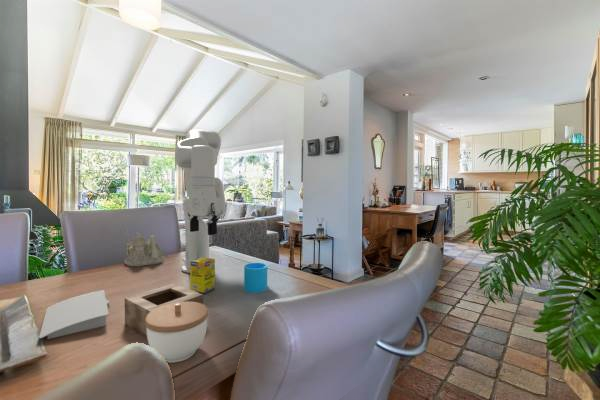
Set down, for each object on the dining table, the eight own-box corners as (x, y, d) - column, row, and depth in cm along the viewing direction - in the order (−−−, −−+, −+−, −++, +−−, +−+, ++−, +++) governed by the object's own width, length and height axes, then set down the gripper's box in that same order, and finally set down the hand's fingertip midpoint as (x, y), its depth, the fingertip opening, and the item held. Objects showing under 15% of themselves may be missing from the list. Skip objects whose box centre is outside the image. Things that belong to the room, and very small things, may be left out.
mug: (270, 290, 103) (270, 267, 102) (246, 294, 100) (247, 270, 99) (261, 280, 114) (261, 259, 113) (239, 282, 111) (240, 261, 110)
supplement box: (204, 295, 98) (204, 262, 97) (189, 292, 100) (189, 260, 99) (215, 289, 103) (215, 258, 103) (201, 286, 106) (201, 256, 105)
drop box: (125, 323, 77) (124, 297, 77) (174, 306, 89) (174, 283, 88) (152, 341, 69) (152, 312, 69) (203, 319, 81) (203, 294, 80)
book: (110, 299, 94) (110, 287, 94) (117, 328, 76) (117, 314, 76) (47, 311, 85) (47, 298, 85) (38, 348, 67) (37, 331, 67)
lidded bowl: (174, 334, 73) (173, 290, 72) (219, 342, 69) (218, 297, 68) (131, 364, 61) (130, 312, 60) (183, 376, 57) (182, 321, 56)
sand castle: (165, 262, 135) (163, 230, 135) (124, 268, 127) (121, 234, 127) (162, 257, 149) (160, 227, 148) (124, 262, 140) (122, 231, 140)
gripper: (178, 182, 101) (178, 231, 102) (210, 183, 91) (210, 237, 92) (196, 182, 107) (197, 228, 109) (228, 183, 97) (228, 234, 99)
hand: (203, 232), depth 100 cm, fingers open, 9 cm apart
